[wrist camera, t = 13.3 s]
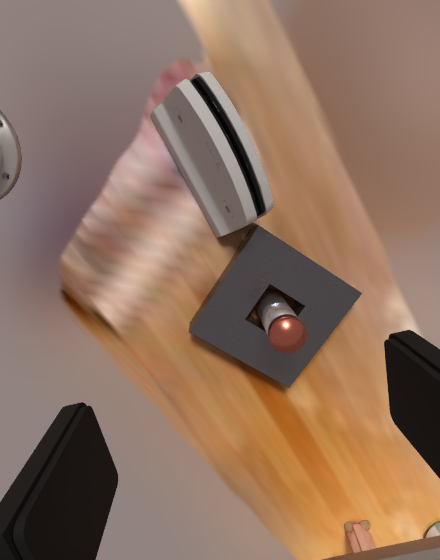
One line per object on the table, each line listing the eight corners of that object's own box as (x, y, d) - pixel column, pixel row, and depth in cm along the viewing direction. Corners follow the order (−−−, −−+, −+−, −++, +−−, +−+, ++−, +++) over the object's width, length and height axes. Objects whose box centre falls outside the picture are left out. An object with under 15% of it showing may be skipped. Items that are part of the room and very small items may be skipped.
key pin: (253, 294, 43) (267, 323, 33) (282, 287, 43) (304, 315, 33) (258, 321, 44) (273, 357, 35) (286, 314, 44) (309, 349, 35)
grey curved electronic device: (148, 113, 37) (163, 66, 27) (182, 96, 38) (209, 46, 28) (218, 240, 41) (251, 237, 32) (247, 221, 42) (288, 214, 33)
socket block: (189, 322, 44) (188, 332, 41) (255, 223, 41) (259, 225, 38) (283, 375, 47) (289, 387, 44) (351, 286, 43) (362, 293, 41)
